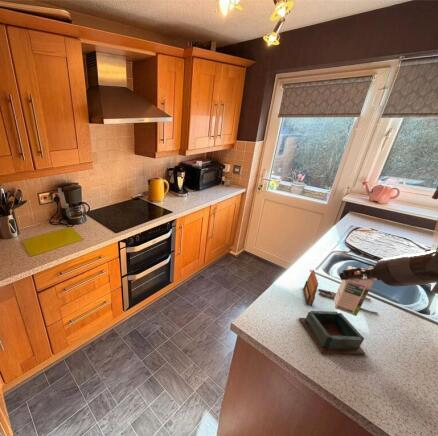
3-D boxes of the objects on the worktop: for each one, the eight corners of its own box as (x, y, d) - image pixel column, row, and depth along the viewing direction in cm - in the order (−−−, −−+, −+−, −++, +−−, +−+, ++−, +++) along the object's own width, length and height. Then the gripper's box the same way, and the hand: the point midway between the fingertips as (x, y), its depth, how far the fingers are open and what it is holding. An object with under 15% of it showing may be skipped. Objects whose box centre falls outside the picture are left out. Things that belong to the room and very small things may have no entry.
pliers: (383, 313, 92) (326, 303, 97) (382, 315, 93) (325, 305, 97) (369, 296, 101) (317, 288, 106) (368, 298, 101) (316, 289, 106)
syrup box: (334, 308, 77) (350, 274, 71) (333, 298, 81) (348, 264, 75) (356, 316, 74) (374, 281, 68) (354, 305, 78) (371, 270, 72)
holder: (335, 321, 90) (340, 309, 88) (364, 355, 78) (371, 343, 75) (298, 319, 91) (303, 308, 88) (321, 353, 78) (327, 341, 76)
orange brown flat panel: (303, 288, 107) (310, 267, 102) (307, 290, 106) (315, 269, 101) (306, 304, 98) (315, 282, 93) (311, 306, 97) (320, 284, 92)
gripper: (429, 256, 60) (373, 265, 75) (372, 255, 60) (328, 264, 76) (441, 286, 57) (380, 289, 73) (381, 284, 58) (334, 288, 73)
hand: (354, 277), depth 74 cm, fingers closed on syrup box, 7 cm apart
